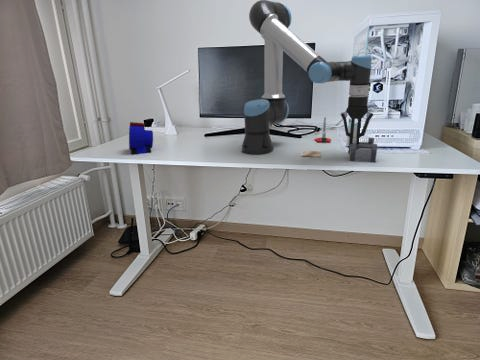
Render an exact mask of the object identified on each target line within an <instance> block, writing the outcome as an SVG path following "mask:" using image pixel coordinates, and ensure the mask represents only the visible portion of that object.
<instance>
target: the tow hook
mask: <svg viewBox="0 0 480 360" xmlns="http://www.w3.org/2000/svg"><path fill="white" fill-rule="evenodd" d="M323 118H324V119H323V124H322V125H323V127H322V130H323V131H322V134H321V135H322V137H316V138H314V142H316V143H317V144H318V143H323V144H324V143H325V144H326V143H329V144H330V143H331V141H332V138H329V137H327V136H326V134H327V133H326V128H327V121H326V120H327V117H323Z"/></svg>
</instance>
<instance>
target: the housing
mask: <svg viewBox="0 0 480 360" xmlns="http://www.w3.org/2000/svg"><path fill="white" fill-rule="evenodd" d="M349 142H350V139H349ZM359 144H371V148H356V143H351V145H350V143H349V147H348V151H347V152H348V154H349V158H348V159H349V162H365V163H366V162H367V163H368V162H370V163H376V162H377V161H376V160H377V152H378V144H377V143H375V138H374V137H368V141H362V142H359Z"/></svg>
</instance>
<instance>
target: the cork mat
mask: <svg viewBox="0 0 480 360" xmlns="http://www.w3.org/2000/svg"><path fill="white" fill-rule="evenodd" d="M321 157H322V151H318V150H317V151H315V150H303V151H302V154H301V158H317V159H319V158H321Z"/></svg>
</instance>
